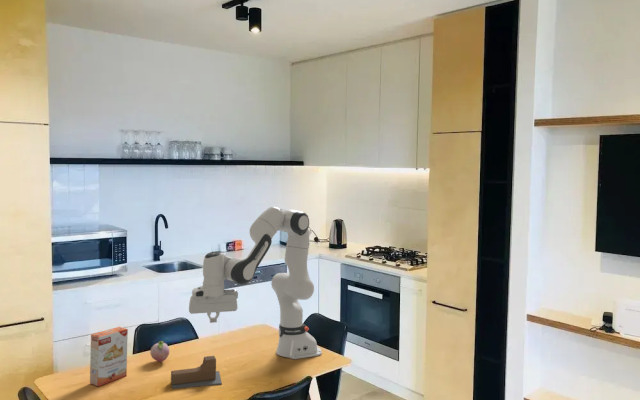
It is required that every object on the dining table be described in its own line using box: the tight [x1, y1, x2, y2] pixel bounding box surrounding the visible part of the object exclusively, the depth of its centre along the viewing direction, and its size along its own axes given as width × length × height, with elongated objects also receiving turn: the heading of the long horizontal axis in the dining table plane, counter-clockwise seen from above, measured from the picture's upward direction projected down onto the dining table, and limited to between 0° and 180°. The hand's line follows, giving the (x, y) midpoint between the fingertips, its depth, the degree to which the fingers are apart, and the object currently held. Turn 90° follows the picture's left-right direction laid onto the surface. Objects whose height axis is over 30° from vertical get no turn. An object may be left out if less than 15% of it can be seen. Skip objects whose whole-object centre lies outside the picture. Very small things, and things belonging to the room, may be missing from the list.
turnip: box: [150, 340, 170, 363], centre depth 234 cm, size 9×8×10 cm
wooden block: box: [170, 355, 217, 386], centre depth 213 cm, size 9×4×18 cm
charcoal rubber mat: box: [171, 370, 223, 390], centre depth 215 cm, size 20×13×1 cm, turn 106°
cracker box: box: [89, 326, 129, 387], centre depth 212 cm, size 14×6×21 cm, turn 148°
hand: (213, 322), depth 216 cm, fingers closed
